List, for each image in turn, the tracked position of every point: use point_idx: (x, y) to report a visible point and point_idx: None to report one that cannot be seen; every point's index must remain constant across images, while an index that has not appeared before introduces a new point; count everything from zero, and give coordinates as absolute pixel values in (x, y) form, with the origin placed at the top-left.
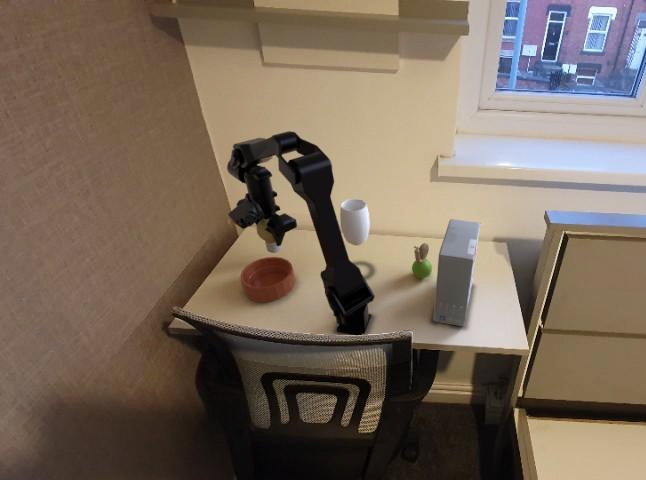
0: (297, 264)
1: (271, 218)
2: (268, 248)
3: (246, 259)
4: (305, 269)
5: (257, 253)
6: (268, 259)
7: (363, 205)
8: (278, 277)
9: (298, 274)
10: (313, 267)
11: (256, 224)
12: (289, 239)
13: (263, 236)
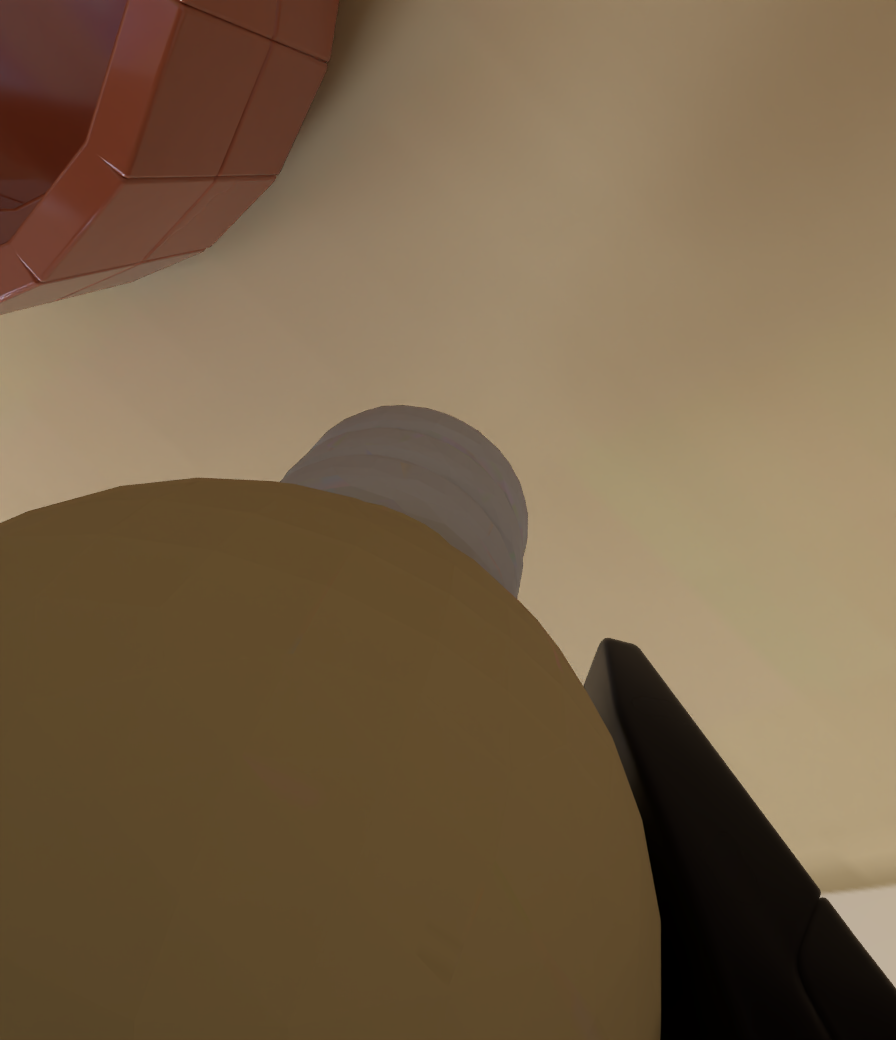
0: (181, 469)
1: None
2: (377, 433)
3: (877, 198)
4: (49, 442)
5: (800, 407)
6: (89, 156)
7: None
8: (57, 111)
9: (18, 335)
10: (27, 504)
11: (864, 1025)
12: None
13: (7, 525)
